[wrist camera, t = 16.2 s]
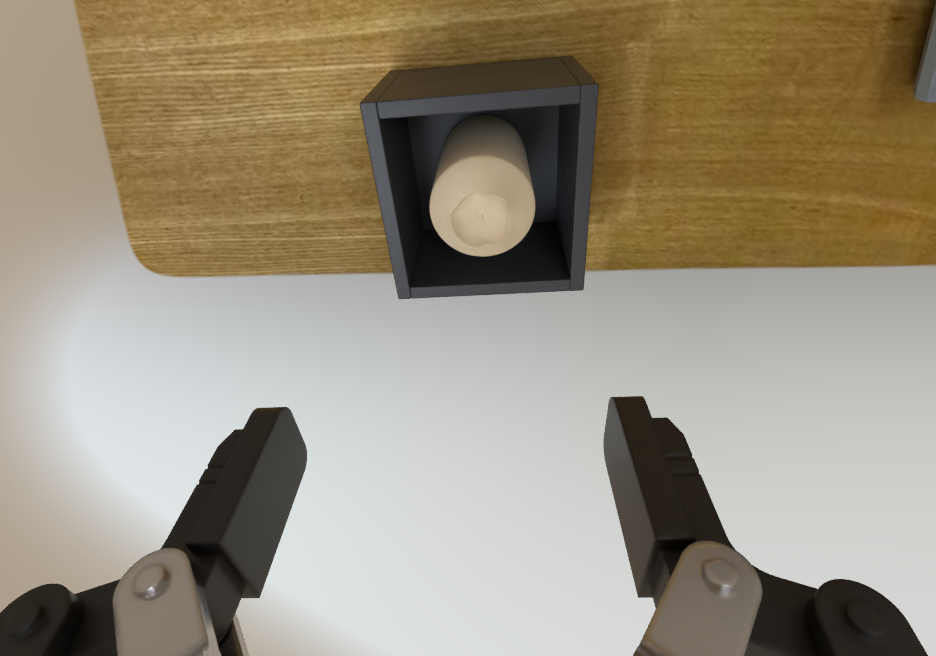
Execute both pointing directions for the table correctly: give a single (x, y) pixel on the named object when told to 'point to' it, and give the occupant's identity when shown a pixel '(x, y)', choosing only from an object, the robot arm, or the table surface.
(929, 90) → the book
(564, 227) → the bin
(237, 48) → the table surface
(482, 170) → the candle
